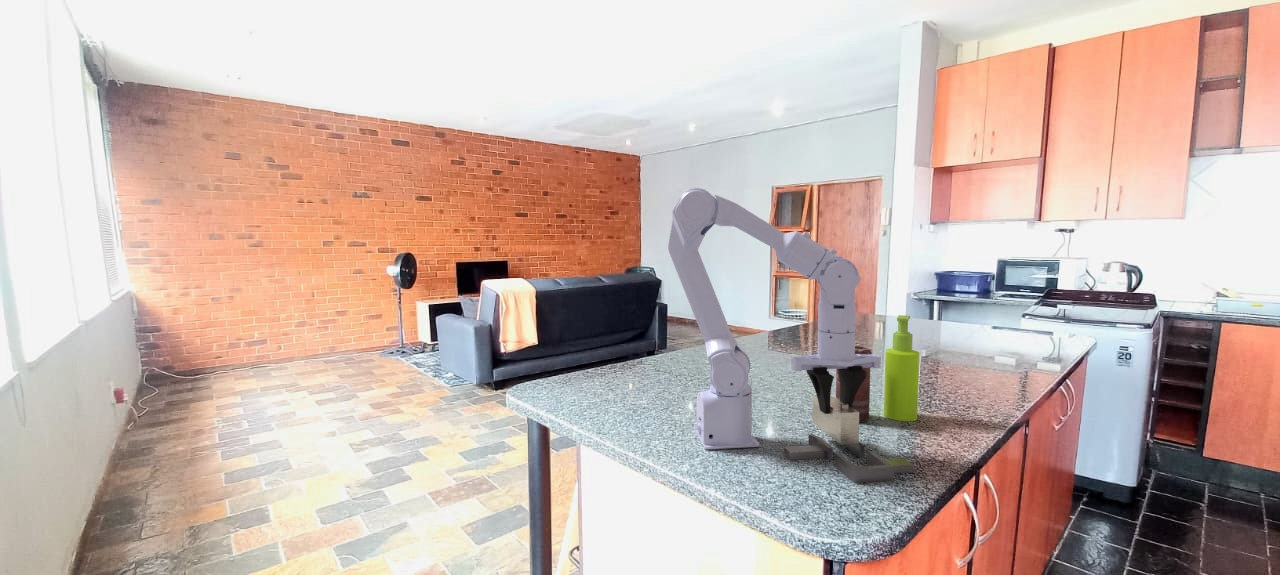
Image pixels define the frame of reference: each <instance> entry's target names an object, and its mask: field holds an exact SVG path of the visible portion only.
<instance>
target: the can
mask: <svg viewBox="0 0 1280 575" xmlns="http://www.w3.org/2000/svg"><path fill="white" fill-rule="evenodd" d="M855 354H873V352H872V350H871V349H870V348H867V347H863V346H858V345H855ZM871 369H872V367H868V368H862V370H864V371H866V378H865V380H864V381H863V383H862V384H861V386H860V387H859V389H858V391H857V393H856V396H855V398H854V401H853V405H852V408H853V409H855V410H856V411H858V412H859V424H860V423H865V422H867V421H868V420H869V419H870V399H871V398H870V397H871V394H870V393H871ZM835 372H836V373H835V374H836V375H835V398H836V399H838V400H839V401H840V381H839V374H838V369H835Z"/></svg>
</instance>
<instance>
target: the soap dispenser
mask: <svg viewBox="0 0 1280 575" xmlns="http://www.w3.org/2000/svg"><path fill="white" fill-rule="evenodd" d="M910 319H911V315H903V314H902V315H898V316H897V318H896V321H897V325H898V326H897V331H895V332H893V333H892V348H888V349H886V350H885V354H884V355H885V356H884V357H885V362H884V365H885V366H884V394H883V395H884V396H883V397H884V398H883V401H884V402H883V403H884V404H883V415H884V416H885V417H886V418H888V419H890V420H894V421H899V422H915V421H917V420H918V410H919V409H918V405H919V403H918V402H919V374H920V352H919V351H918V350H914V349H913V333H911V332H910V331H909V329H908V328H909V321H910Z"/></svg>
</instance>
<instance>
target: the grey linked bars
mask: <svg viewBox="0 0 1280 575" xmlns="http://www.w3.org/2000/svg"><path fill="white" fill-rule="evenodd" d="M845 446H846V448H847V449H848V450H849V451H850V452H851V453H852V454H854V455H855V456H857V457H858V458H859V459H865V444H862V443H861V442H860V441H859V443H856V444H845ZM833 452H834V449H833V447H832V445H830V444H829V443H828V442H826V441H825V440H824V439H823V438H822V437H819V436H817V435H815V434H813V433H810V434H808V444H807V445H806V444H805V445H790V446H789V445H787V446H783V454H784V456H786V457H787V459H788V460H789V461H793V460H794V461H795V460H810V459H811V460H812V459H826V460H828V461H832V460H833V456H834V466H835V468H837V469H838V471H840V472H841V473H842V474H843V475H844V476H846V477H847V478H848V479H849V480H850V481H851V482H852V483H854V484H860V483H877V482H892V481H894V480H895V474H909V473H914V464H913V463H912V462H910V461H909V460H907V459H905V458H904V457H895V458H882V457H881V456H879V455H878V454H877V453H875V452H874V451H872V450H866V453H867V454H866V465H863V466H861V465H860V466H856V465H855V464H854V463H852V462H851V461H850V460H849V459H847V458H846V457H845V456H844V455H842V454H841V453H840V452H834V454H833Z"/></svg>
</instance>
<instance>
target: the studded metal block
mask: <svg viewBox="0 0 1280 575" xmlns="http://www.w3.org/2000/svg"><path fill="white" fill-rule="evenodd" d="M811 402H812V409H811V410H812V412H811V413H812V415H811V416H812V417H811V418H812V422H811V423H812V424H813V425H814V426H816V427H817V428H818V429H819V430H820V431H823V432H824V433H825V434H826V435H827V436H828V437H830V438H832V439H833V440H834V441H836V442H837V443H838V444H839V445H846V444H856V443H859V442H860V423H859V412H858V411H856V410H855V409H853V408H851V407H849V406H848V404H846V403H843V402H841V401H839V400H838V399H836V397H835V396H833V395H831V394H830V413H829V414H825V413H823V412H822V411H820V407H819V402H818V398H817V395H816V394H813V395H812V401H811Z"/></svg>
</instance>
